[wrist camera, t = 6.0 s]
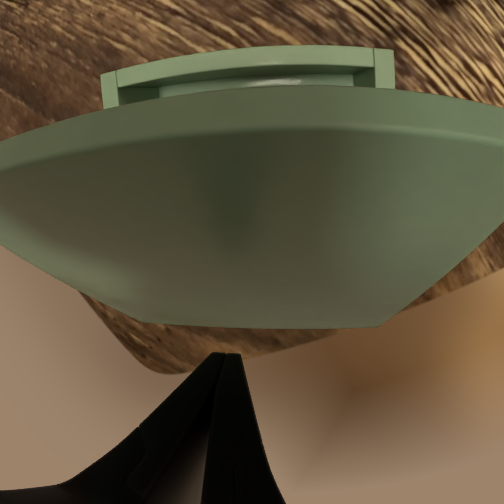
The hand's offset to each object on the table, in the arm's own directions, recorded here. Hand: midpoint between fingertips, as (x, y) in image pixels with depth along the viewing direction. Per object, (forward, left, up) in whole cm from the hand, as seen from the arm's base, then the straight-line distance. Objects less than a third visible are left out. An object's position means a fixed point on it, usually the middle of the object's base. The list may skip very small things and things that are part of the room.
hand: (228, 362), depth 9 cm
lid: (+2, +1, -2) cm, 3 cm away
